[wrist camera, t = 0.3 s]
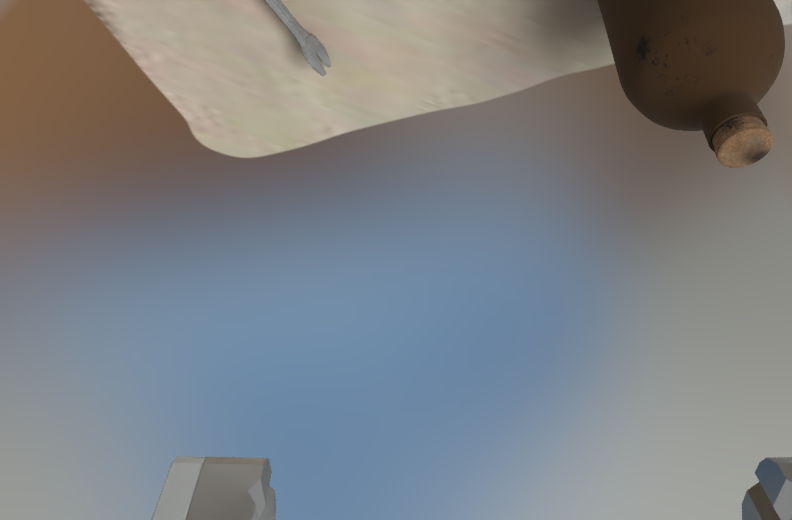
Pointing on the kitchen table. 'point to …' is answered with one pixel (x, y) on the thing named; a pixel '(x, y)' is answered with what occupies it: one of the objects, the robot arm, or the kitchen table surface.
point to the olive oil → (700, 67)
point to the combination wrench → (303, 38)
